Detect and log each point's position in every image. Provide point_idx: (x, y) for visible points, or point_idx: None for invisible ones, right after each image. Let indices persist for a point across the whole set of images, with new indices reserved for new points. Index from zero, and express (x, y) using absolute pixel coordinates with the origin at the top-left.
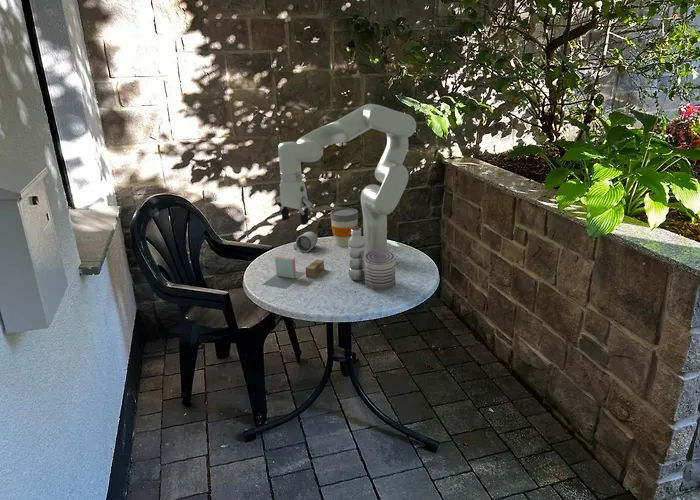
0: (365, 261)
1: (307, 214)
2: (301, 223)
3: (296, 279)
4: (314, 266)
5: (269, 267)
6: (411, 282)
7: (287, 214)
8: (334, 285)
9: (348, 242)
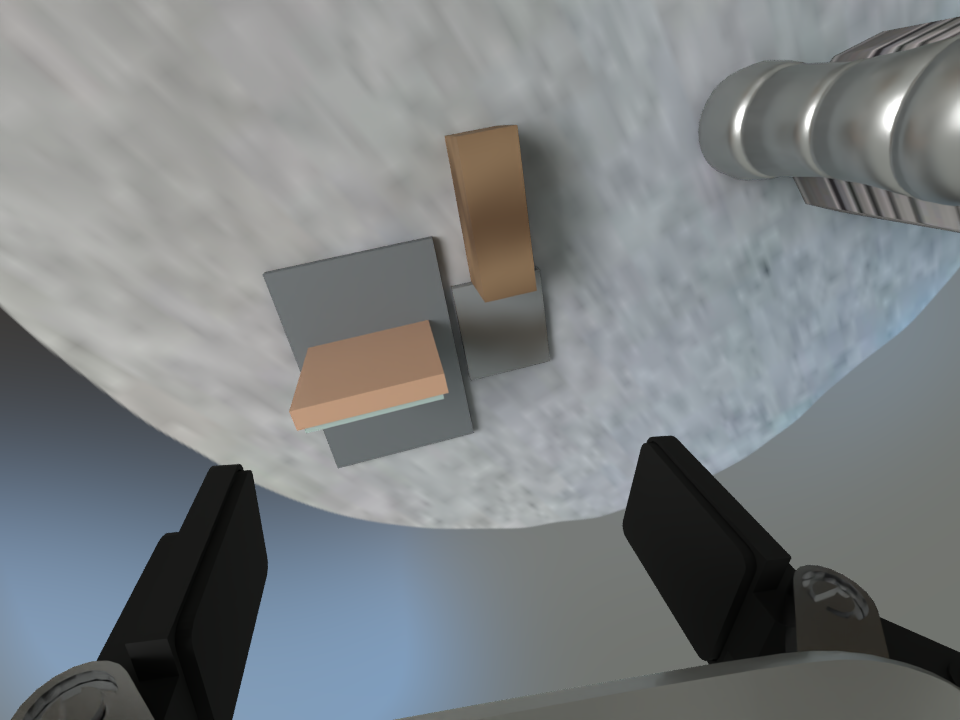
0: (948, 208)
1: (792, 571)
2: (637, 546)
3: (446, 336)
4: (521, 252)
5: (138, 284)
6: None
7: (233, 564)
8: (649, 265)
9: (935, 184)
